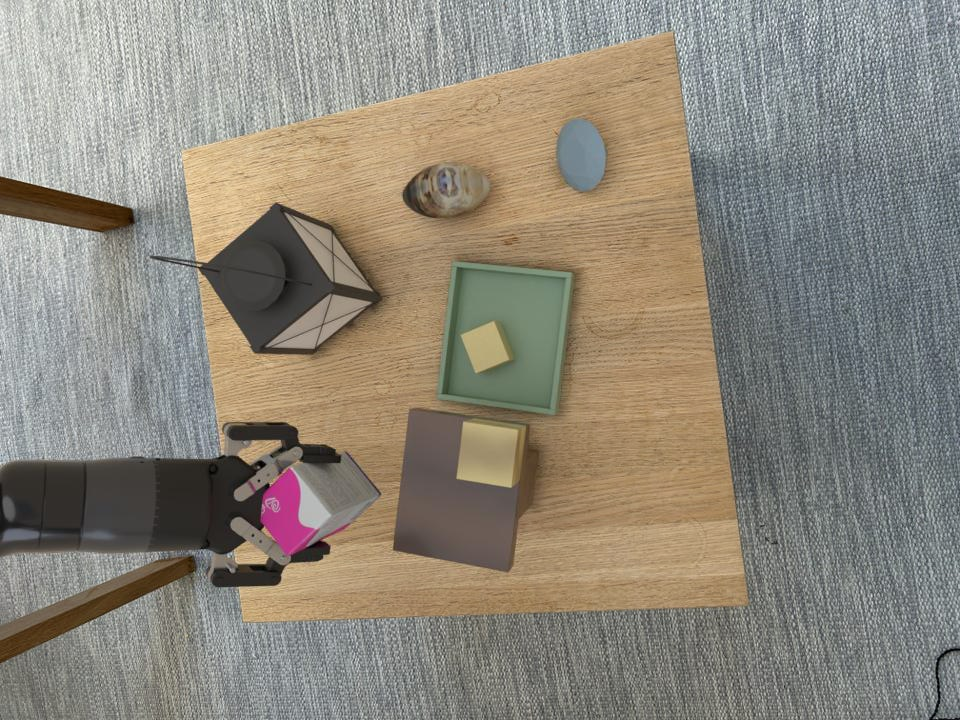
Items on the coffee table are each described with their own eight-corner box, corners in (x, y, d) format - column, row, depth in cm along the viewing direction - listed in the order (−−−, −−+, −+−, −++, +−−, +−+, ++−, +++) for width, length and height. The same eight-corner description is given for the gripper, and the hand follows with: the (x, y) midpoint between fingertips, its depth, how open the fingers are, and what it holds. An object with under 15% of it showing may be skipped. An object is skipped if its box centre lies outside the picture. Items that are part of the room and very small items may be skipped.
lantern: (384, 299, 89) (261, 269, 62) (312, 356, 91) (162, 352, 64) (331, 223, 91) (189, 162, 63) (261, 281, 93) (94, 246, 65)
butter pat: (493, 320, 82) (500, 322, 85) (460, 334, 83) (468, 336, 86) (509, 359, 81) (515, 359, 85) (475, 373, 82) (482, 373, 86)
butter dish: (558, 413, 84) (554, 415, 81) (443, 397, 87) (435, 398, 84) (575, 275, 84) (572, 272, 81) (459, 264, 87) (452, 260, 84)
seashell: (492, 165, 86) (475, 145, 78) (499, 215, 86) (482, 201, 78) (412, 181, 88) (388, 163, 80) (418, 230, 88) (395, 217, 80)
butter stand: (549, 516, 84) (499, 584, 59) (462, 501, 87) (377, 561, 61) (562, 408, 84) (518, 429, 58) (474, 396, 86) (394, 411, 61)
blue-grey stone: (620, 101, 80) (584, 107, 77) (642, 172, 80) (607, 180, 77) (574, 128, 86) (540, 134, 83) (595, 194, 87) (561, 202, 84)
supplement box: (345, 448, 76) (292, 463, 65) (383, 494, 75) (335, 517, 64) (305, 486, 77) (246, 507, 66) (342, 531, 76) (288, 561, 65)
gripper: (140, 608, 59) (339, 592, 68) (160, 424, 59) (358, 432, 67) (127, 576, 65) (310, 565, 74) (145, 410, 65) (327, 419, 74)
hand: (333, 502), depth 71 cm, fingers closed on supplement box, 8 cm apart
